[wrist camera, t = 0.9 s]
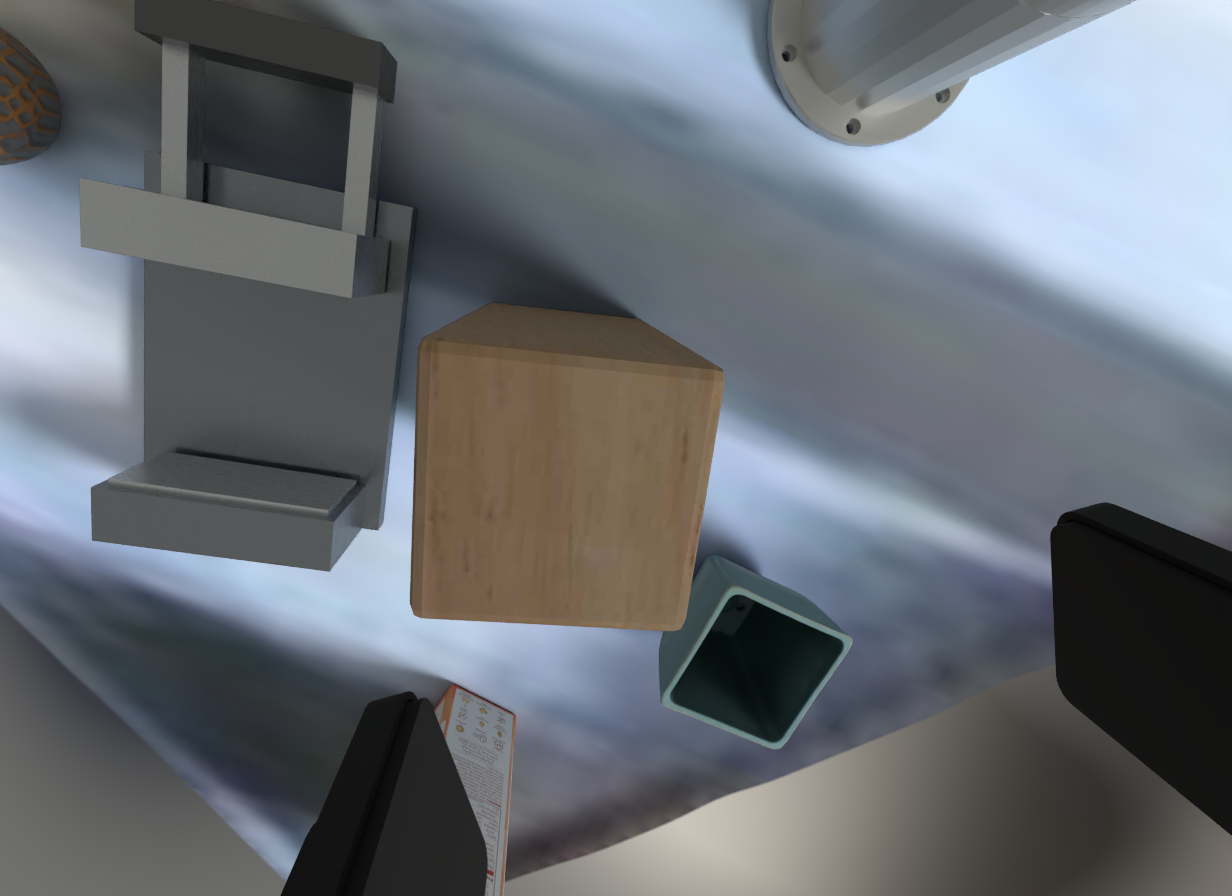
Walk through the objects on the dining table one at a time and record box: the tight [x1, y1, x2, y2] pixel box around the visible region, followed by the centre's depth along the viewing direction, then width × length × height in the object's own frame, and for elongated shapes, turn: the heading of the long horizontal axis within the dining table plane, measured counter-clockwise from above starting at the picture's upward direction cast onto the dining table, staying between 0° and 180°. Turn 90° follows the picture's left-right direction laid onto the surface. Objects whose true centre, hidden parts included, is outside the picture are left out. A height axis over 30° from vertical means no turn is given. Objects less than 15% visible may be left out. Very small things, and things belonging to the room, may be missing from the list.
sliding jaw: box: [79, 0, 397, 298], centre depth 31 cm, size 12×12×6 cm
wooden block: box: [410, 303, 725, 631], centre depth 30 cm, size 10×10×20 cm
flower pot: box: [659, 555, 853, 749], centre depth 41 cm, size 9×9×9 cm
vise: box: [91, 150, 417, 572], centre depth 34 cm, size 20×14×7 cm
